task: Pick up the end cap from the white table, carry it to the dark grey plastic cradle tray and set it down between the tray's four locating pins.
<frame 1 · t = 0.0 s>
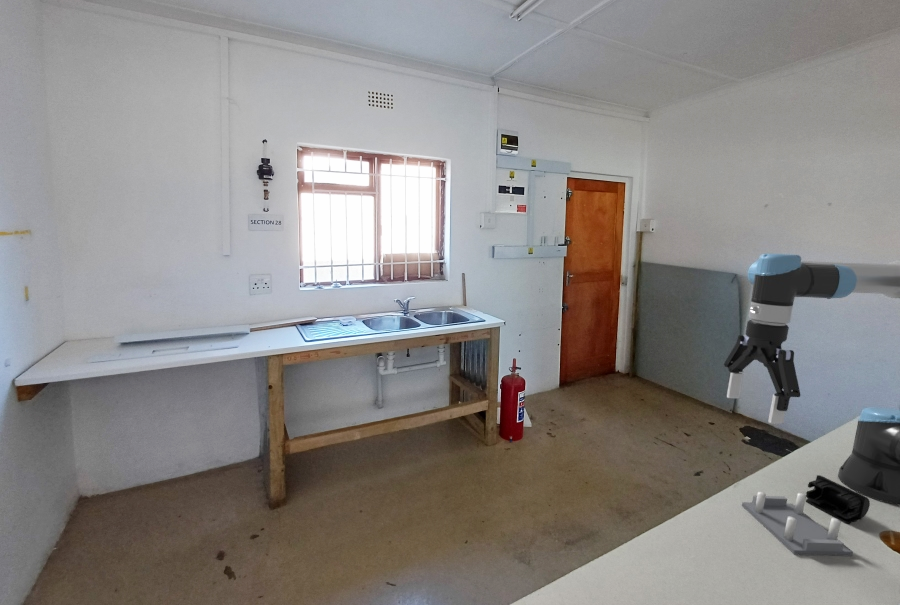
hand: (752, 409, 96), 28 cm above the table, fingers open, 13 cm apart
tray: (792, 528, 97), on the table
end cap: (833, 510, 105), on the table
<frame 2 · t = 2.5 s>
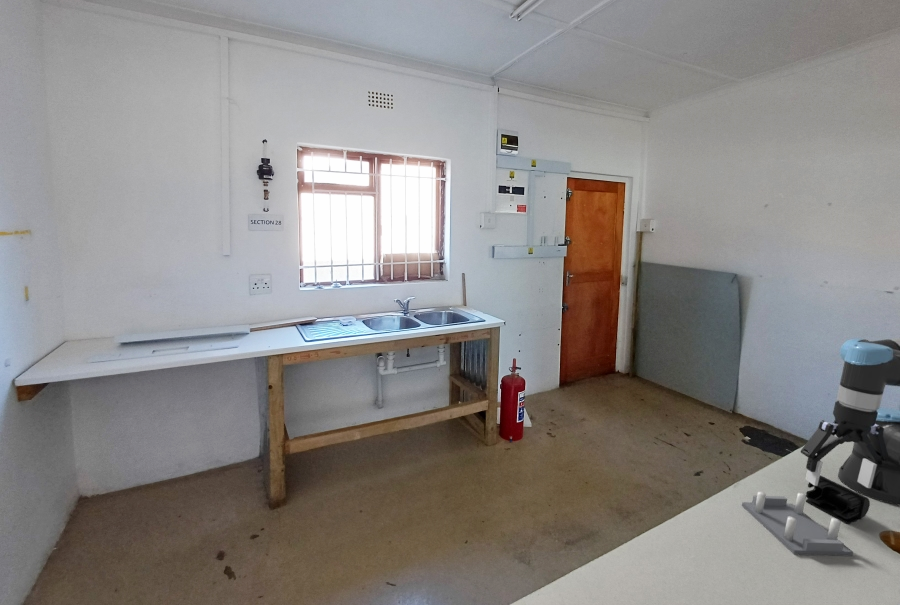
hand: (837, 483, 104), 7 cm above the table, fingers open, 13 cm apart
nothing on the table moved.
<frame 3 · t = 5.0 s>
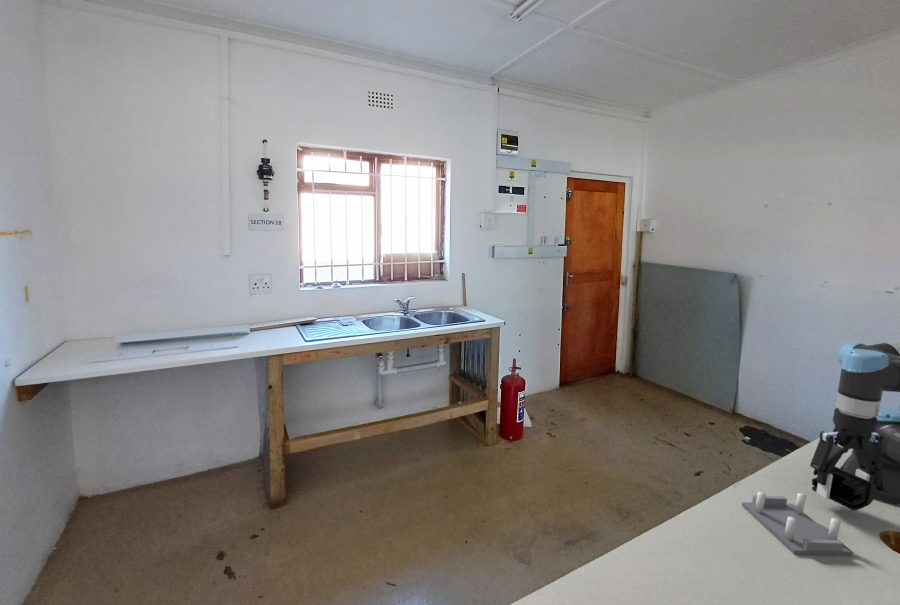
hand: (840, 495, 104), 4 cm above the table, fingers closed on end cap, 9 cm apart
end cap: (840, 497, 104), point 4 cm above the table, touching gripper
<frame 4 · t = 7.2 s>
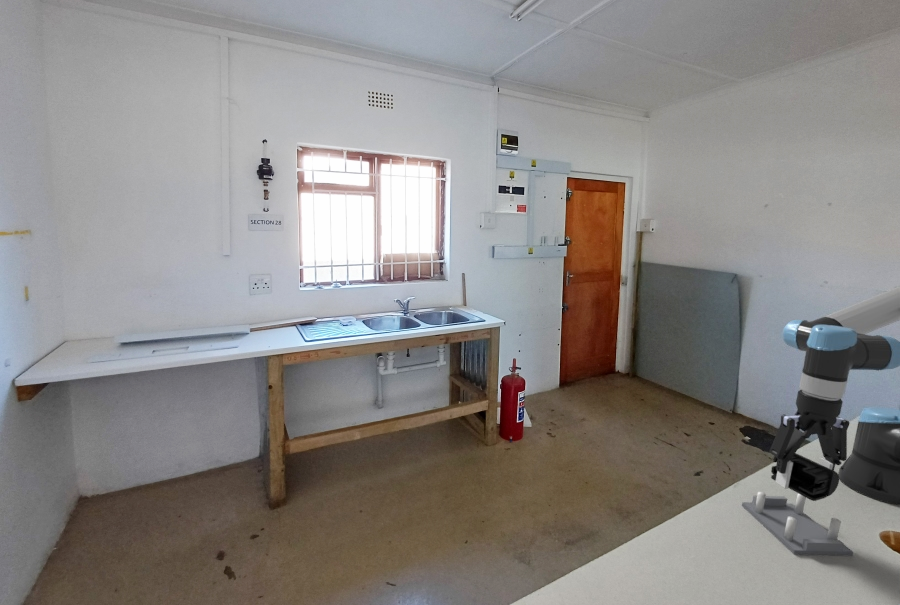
hand: (801, 485, 95), 11 cm above the table, fingers closed on end cap, 9 cm apart
end cap: (800, 487, 95), point 11 cm above the table, touching gripper
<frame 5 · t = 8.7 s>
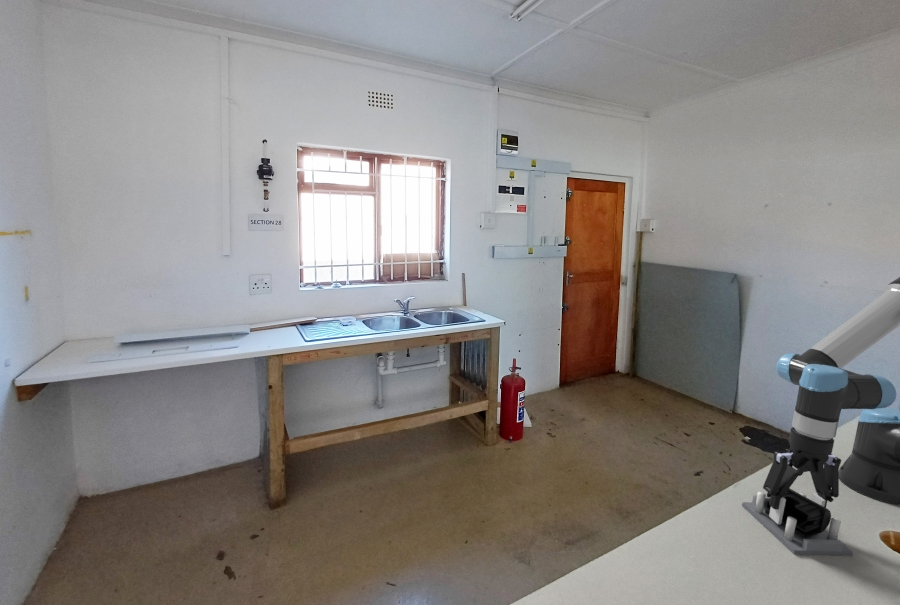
hand: (794, 520, 97), 2 cm above the table, fingers closed on end cap, 9 cm apart
end cap: (793, 522, 97), point 2 cm above the table, touching gripper
when the fingers open (2 cm above the table, at t = 9.6 s): end cap stays where it is, resting on tray.
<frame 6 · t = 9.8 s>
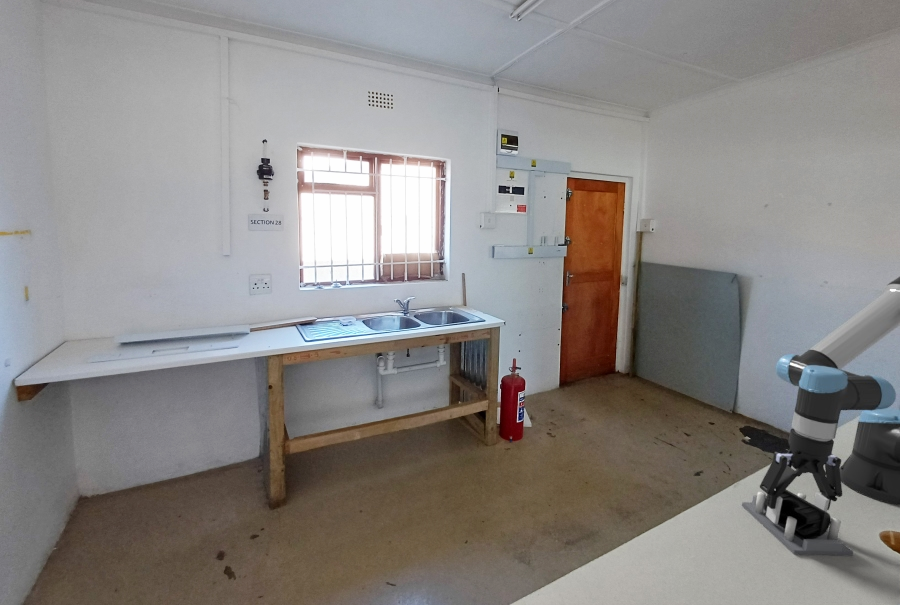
hand: (794, 520, 97), 2 cm above the table, fingers open, 10 cm apart
end cap: (793, 525, 97), point 1 cm above the table, touching tray
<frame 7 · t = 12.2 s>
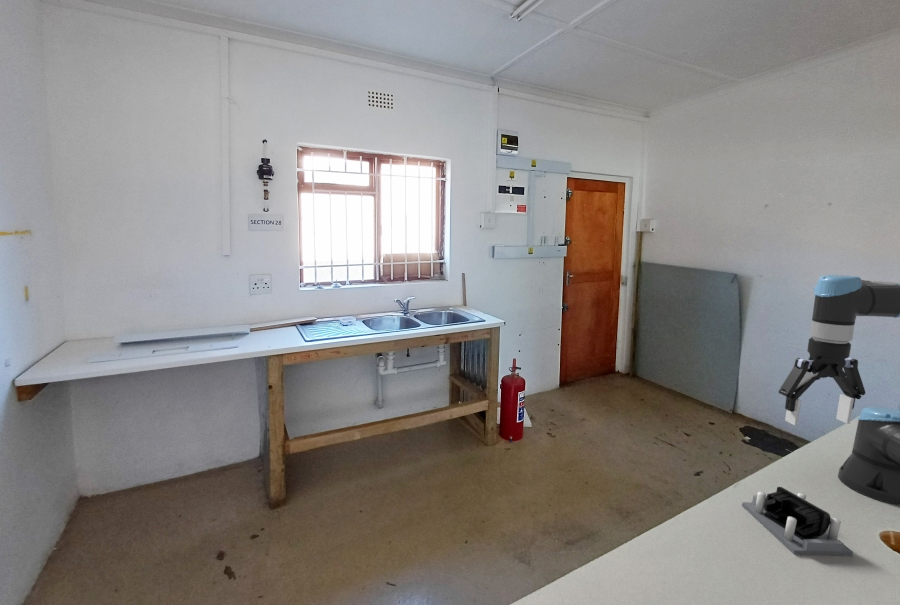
hand: (817, 422, 102), 23 cm above the table, fingers open, 13 cm apart
nothing on the table moved.
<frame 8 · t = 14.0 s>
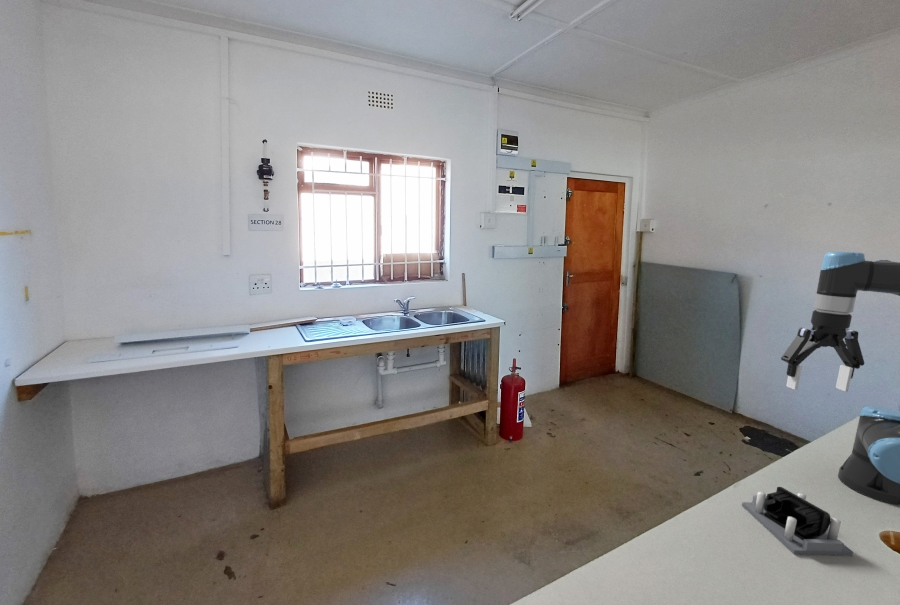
hand: (816, 388, 110), 29 cm above the table, fingers open, 13 cm apart
nothing on the table moved.
at the end: end cap 0.0 cm off-centre on the tray, point 0.8 cm above the tray's base; the gripper is holding nothing; end cap touching tray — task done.
